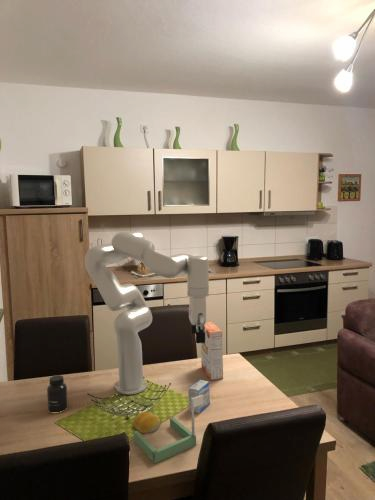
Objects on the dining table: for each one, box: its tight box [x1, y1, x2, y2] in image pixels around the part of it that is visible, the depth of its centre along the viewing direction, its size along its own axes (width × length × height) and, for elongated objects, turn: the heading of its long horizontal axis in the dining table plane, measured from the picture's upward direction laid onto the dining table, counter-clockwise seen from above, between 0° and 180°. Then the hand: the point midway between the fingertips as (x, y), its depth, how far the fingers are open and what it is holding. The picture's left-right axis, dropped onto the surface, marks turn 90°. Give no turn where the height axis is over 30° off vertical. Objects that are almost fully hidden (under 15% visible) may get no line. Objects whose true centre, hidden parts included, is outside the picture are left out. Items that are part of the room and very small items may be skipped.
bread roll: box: [132, 411, 161, 434], centre depth 129 cm, size 8×9×4 cm
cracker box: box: [200, 321, 224, 381], centre depth 167 cm, size 14×6×21 cm, turn 14°
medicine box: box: [187, 379, 211, 414], centre depth 139 cm, size 8×4×9 cm, turn 148°
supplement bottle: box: [46, 374, 69, 413], centre depth 140 cm, size 7×7×12 cm
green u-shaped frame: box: [133, 395, 203, 464], centre depth 119 cm, size 13×18×15 cm
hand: (198, 337), depth 138 cm, fingers open, 9 cm apart
